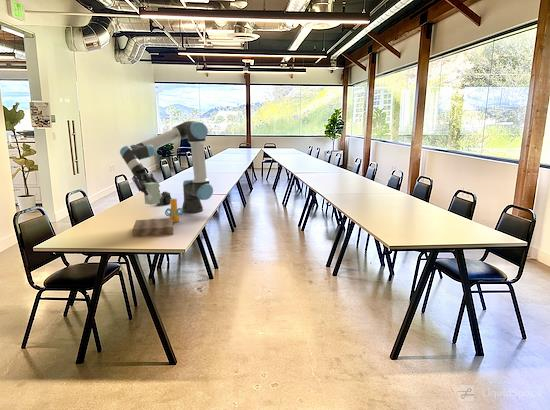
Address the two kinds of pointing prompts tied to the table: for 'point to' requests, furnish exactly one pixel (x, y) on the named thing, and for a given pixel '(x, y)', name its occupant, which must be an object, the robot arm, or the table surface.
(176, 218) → the orange post with rings
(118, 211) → the table surface
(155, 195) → the sage block
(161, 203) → the camera
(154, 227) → the walnut block
